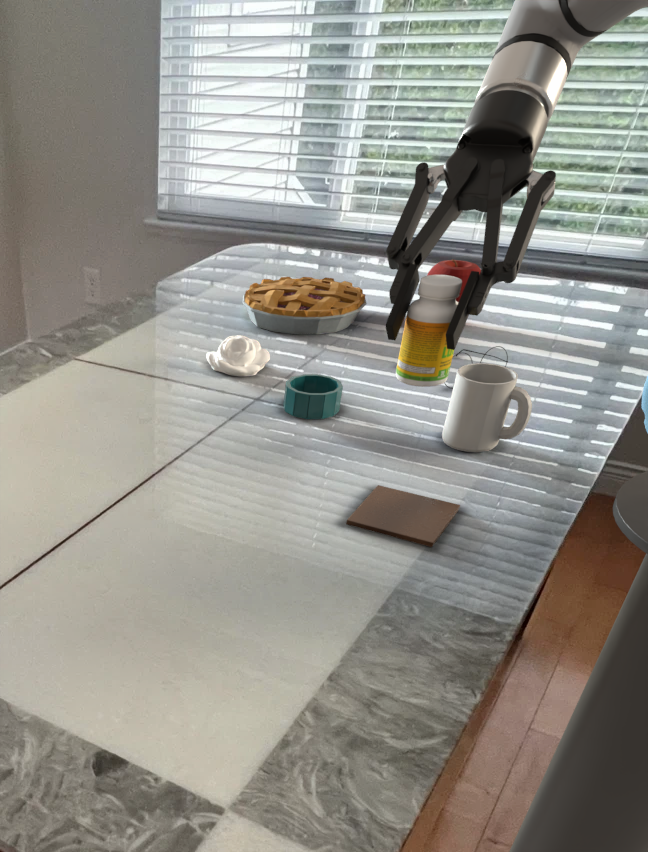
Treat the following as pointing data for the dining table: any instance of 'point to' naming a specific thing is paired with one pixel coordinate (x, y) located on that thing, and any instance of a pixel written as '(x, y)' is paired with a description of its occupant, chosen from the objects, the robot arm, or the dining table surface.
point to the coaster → (404, 515)
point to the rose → (239, 356)
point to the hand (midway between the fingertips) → (419, 337)
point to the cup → (484, 408)
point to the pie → (303, 305)
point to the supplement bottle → (428, 332)
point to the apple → (455, 271)
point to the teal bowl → (312, 396)
